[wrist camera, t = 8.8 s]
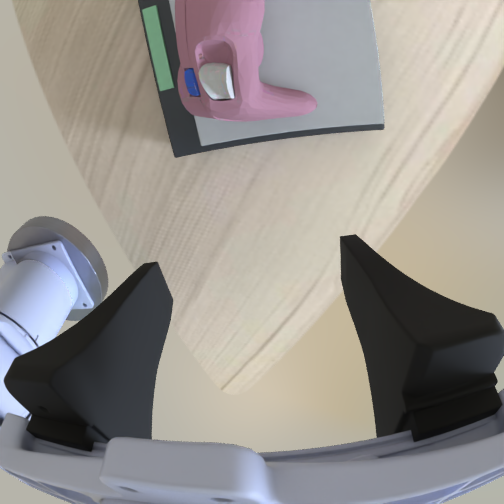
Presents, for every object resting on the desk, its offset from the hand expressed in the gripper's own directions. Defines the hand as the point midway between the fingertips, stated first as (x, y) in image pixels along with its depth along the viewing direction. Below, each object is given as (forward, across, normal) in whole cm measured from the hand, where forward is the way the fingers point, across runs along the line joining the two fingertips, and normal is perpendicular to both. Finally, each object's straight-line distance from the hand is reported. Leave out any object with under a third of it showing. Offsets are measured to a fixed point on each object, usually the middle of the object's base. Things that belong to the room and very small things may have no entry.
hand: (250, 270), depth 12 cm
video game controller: (+7, -2, -10) cm, 12 cm away
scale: (+9, -2, -10) cm, 13 cm away
